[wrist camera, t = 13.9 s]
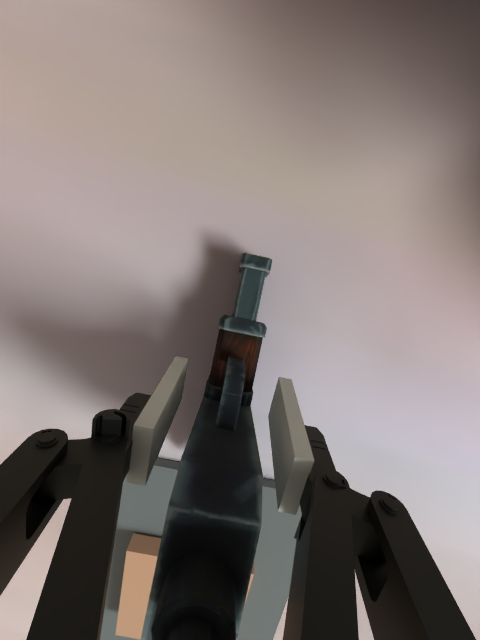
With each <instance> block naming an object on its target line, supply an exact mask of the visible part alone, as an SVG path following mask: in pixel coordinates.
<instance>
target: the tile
mask: <svg viewBox="0 0 480 640" xmlns="http://www.w3.org/2000/svg"><path fill="white" fill-rule="evenodd" d="M160 543H161V538H157V537H151V536H146V535H140V534H135V533H133V535H132V538H131V540H130V543H129V546H128V548H127V551H126V558H125V566H124V573H123V581H122V589H121V596H120V604H119V611H118V619H117V626H116V634H115V635H119V636H124V637H130V638H135V639H141V635H142V630H143V625H144V620H145V616H146V611H147V606H148V601H149V596H150V591H151V586H152V582H153V577H154V572H155V567H156V562H157V557H158V553H159V548H160ZM253 576H254V562H253V567H252V572H251V576H250V581H249V586H248V591H247V595H246V599H247V596H248V592H249V589H250V586H251V582H252V579H253ZM245 602H246V600H245Z"/></svg>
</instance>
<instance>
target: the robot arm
mask: <svg viewBox="0 0 480 640" xmlns="http://www.w3.org/2000/svg"><path fill="white" fill-rule="evenodd" d="M187 363H188V359H187V358H183V357H178V356H175V358H174V359H173V361H172V363H171V364H170V366H169V368H168V369H167V371H166V373H165V374H164V376H163V377H162V379H161V381H160V382H159V384H158V386H157V387H156V389H155V391H154V392H153V394H152V396H151V395H146V394H141V393H135V394H134V395H132V396H130V397H128V399H127V400H126V402H125V403H124V405H123V406H122V407H121V408H120V410H117V409H109V410H105V411H101V412H100V413H98V414H96V415H95V417H94V418H93V422H92V436H91V438H88V439H78V440H68V436H67V434H66V433H65V432H64V431H62V430H59V429H46V430H41V431H39V432H36V433H34V434H32V435H31V436H30V437H28V438H27V439H26V440H25V441H24V442H23V443H22V444H21V445H20V446H19V447H18V448H17V449H16V450H15V451H14V452H13V453H12V454H11V455H10V456H9V457H8V458H7V459H6V460H5V461H4V462H3V463H2V464H1V465H0V595H1V594H2V592H3V591H4V589H5V588H6V586H7V585H8V583H9V582H10V580H11V579H12V577H13V575H14V574H15V572H16V571H17V569H18V568H19V566H20V565H21V563H22V562H23V560H24V559H25V557H26V556H27V554H28V553H29V551H30V550H31V548H32V546H33V545H34V543H35V542H36V540H37V539H38V537H39V536H40V534H41V533H42V531H43V530H44V528H45V527H46V525H47V524H48V522H49V520H50V519H51V517H52V516H53V514H54V513H55V511H56V510H57V508H58V507H59V505H60V504H61V502H62V501H63V499H68V498H72V499H71V502H70V506H69V509H68V512H67V515H66V518H65V521H64V524H63V527H62V530H61V533H60V537H59V540H58V543H57V546H56V549H55V552H54V555H53V558H52V561H51V565H50V568H49V571H48V574H47V577H46V580H45V583H44V586H43V589H42V593H41V596H40V599H39V602H38V605H37V608H36V611H35V614H34V617H33V621H32V624H31V627H30V630H29V633H28V636H27V639H26V640H100V636H101V629H102V622H103V616H104V609H105V602H106V595H107V589H108V582H109V575H110V568H111V562H112V555H113V548H114V541H115V535H116V528H117V521H118V514H119V508H120V501H121V494H122V487H123V481H124V479H125V477H126V475H127V473H128V475H127V483H131V484H137V485H142V486H146V483H147V481H148V478H149V476H150V473H151V471H152V469H153V466H154V464H155V461H156V459H157V457H158V454H159V452H160V449H161V447H162V445H163V442H164V440H165V437H166V435H167V432H168V430H169V428H170V425H171V423H172V420H173V418H174V416H175V413H176V411H177V408H178V406H179V404H180V401H181V398H182V392H183V387H184V381H185V375H186V369H187ZM268 418H269V428H270V438H271V448H272V457H273V467H274V477H275V487H276V497H277V507H278V512H284V513H289V514H294V515H296V514H297V511H298V508H299V505H300V508H301V513H302V515H301V518H300V521H299V524H298V527H297V530H296V533H295V536H294V538H295V539H297V540H296V547H295V554H294V562H293V569H292V576H291V584H290V591H289V598H288V606H287V613H286V621H285V628H284V635H283V640H359V638H358V621H357V604H356V587H355V572H356V576H357V579H358V583H359V587H360V590H361V594H362V597H363V601H364V604H365V608H366V612H367V615H368V619H369V622H370V626H371V629H372V633H373V636H374V640H476V639H475V637H474V635H473V633H472V631H471V629H470V627H469V626H468V624H467V622H466V620H465V618H464V616H463V614H462V612H461V611H460V609H459V607H458V605H457V603H456V601H455V599H454V597H453V596H452V594H451V592H450V590H449V588H448V586H447V584H446V582H445V580H444V579H443V577H442V575H441V573H440V571H439V569H438V567H437V565H436V564H435V562H434V560H433V558H432V556H431V554H430V552H429V550H428V549H427V547H426V545H425V543H424V541H423V539H422V537H421V535H420V534H419V532H418V530H417V528H416V526H415V524H414V522H413V520H412V519H411V517H410V515H409V513H408V511H407V509H406V508H405V506H404V505H403V504H402V503H401V502H400V501H399V500H398V499H397V498H396V497H394V496H392V495H391V494H389V493H386V492H384V491H375V492H372V494H371V497H370V498H369V497H367V496H365V495H363V494H360V493H358V492H356V491H354V490H352V489H351V488H350V487H349V484H348V482H347V480H346V479H345V477H344V476H342V475H341V474H340V473H339V472H337V471H336V469H335V466H334V464H333V461H332V458H331V455H330V453H329V451H328V447H327V444H326V442H325V439H324V436H323V434H322V433H321V432H320V431H319V430H318V429H317V428H316V427H311V426H306V425H304V422H303V419H302V415H301V412H300V408H299V405H298V401H297V398H296V394H295V391H294V387H293V384H292V380H291V379H286V378H281V377H279V378H278V382H277V386H276V390H275V393H274V397H273V401H272V404H271V408H270V412H269V416H268ZM354 569H355V571H354Z"/></svg>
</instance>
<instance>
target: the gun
mask: <svg viewBox="0 0 480 640" xmlns="http://www.w3.org/2000/svg"><path fill="white" fill-rule="evenodd" d="M271 264H272V260H271V259H270V258H266V257H261V256H257V255H252V254H247V253H243V254H242V256H241V261H240V266H239V272H240V273H241V277H240V282H239V286H238V291H237V296H236V301H235V306H234V311H233V315H232V316H227V315H224V316H222V317H221V318H220V321H219V325H218V328H220V329H219V334H218V339H217V344H216V349H215V353H214V358H213V363H212V368H211V373H210V376H209V378H208V381H207V383H206V388H205V393H204V397H203V400H202V403H201V406H200V408H199V411H198V414H197V417H196V419H195V422H194V425H193V428H192V430H191V433H190V436H189V439H188V442H187V444H186V447H185V450H184V453H183V455H182V458H181V461H180V465H179V469H178V472H177V476H176V479H175V483H174V487H173V490H172V494H171V498H170V501H169V505H168V509H167V514H166V519H165V523H164V528H163V533H162V538H161V543H160V548H159V553H158V557H157V562H156V567H155V572H154V577H153V582H152V586H151V591H150V596H149V601H148V606H147V611H146V616H145V620H144V625H143V630H142V635H141V640H237V638H238V633H239V628H240V624H241V619H242V614H243V609H244V605H245V600H246V595H247V591H248V586H249V581H250V576H251V572H252V567H253V562H254V558H255V553H256V548H257V543H258V539H259V534H260V529H261V523H262V486H263V474H262V468H261V463H260V457H259V452H258V446H257V440H256V435H255V429H254V423H253V418H252V412H251V407H250V405H251V400H252V396H253V390H252V386H253V382H254V377H255V372H256V367H257V363H258V358H259V353H260V348H261V344H262V339H263V337H265V334H266V329H267V328H266V326H265V324H264V323H261V322H256V318H257V313H258V308H259V303H260V299H261V294H262V289H263V284H264V279H265V277H266V276H267V275H268V274H269V273H270V268H271Z"/></svg>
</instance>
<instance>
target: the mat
mask: <svg viewBox="0 0 480 640" xmlns="http://www.w3.org/2000/svg"><path fill="white" fill-rule="evenodd" d="M179 465H180V462H177V461H172V460H167V459H161V458H157V459H156V461H155V464H154V466H153V469H152V471H151V473H150V476H149V478H148V481H147V483H146V486H142V485H137V484H131V483H127V475H128V473H127V475H126V477H125V479H124V481H123V487H122V494H121V501H120V508H119V514H118V521H117V528H116V535H115V541H114V548H113V555H112V562H111V568H110V575H109V582H108V589H107V595H106V602H105V609H104V616H103V622H102V629H101V636H100V640H141V639H135V638H130V637H124V636H119V635H115V634H116V626H117V619H118V611H119V604H120V596H121V589H122V581H123V573H124V566H125V558H126V551H127V548H128V546H129V543H130V540H131V538H132V535H133V533H135V534H140V535H146V536H151V537H157V538H162V533H163V528H164V523H165V519H166V514H167V509H168V505H169V501H170V498H171V494H172V490H173V487H174V483H175V479H176V476H177V472H178V469H179ZM301 515H302V513H301V508H300V505H299V508H298V511H297V514H296V515H294V514H289V513H284V512H278V507H277V497H276V487H275V480H270V479H265V478H263V486H262V523H261V529H260V534H259V539H258V543H257V548H256V553H255V558H254V576H253V579H252V582H251V586H250V589H249V592H248V596H247V599H246V602H245V605H244V609H243V614H242V619H241V624H240V628H239V633H238V638H237V640H273V637H274V635H275V632H276V629H277V626H278V624H279V621H280V618H281V615H282V613H283V610H284V607H285V604H286V601H287V599H288V596H289V591H290V584H291V576H292V569H293V562H294V554H295V547H296V540H297V539H295V538H294V536H295V533H296V530H297V527H298V524H299V521H300V518H301Z"/></svg>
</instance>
